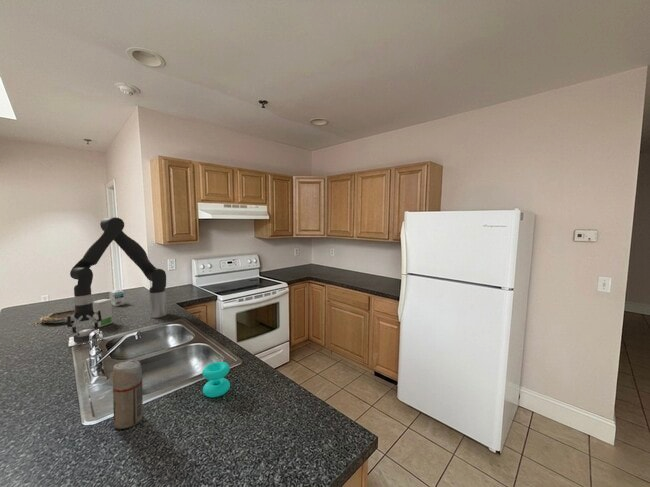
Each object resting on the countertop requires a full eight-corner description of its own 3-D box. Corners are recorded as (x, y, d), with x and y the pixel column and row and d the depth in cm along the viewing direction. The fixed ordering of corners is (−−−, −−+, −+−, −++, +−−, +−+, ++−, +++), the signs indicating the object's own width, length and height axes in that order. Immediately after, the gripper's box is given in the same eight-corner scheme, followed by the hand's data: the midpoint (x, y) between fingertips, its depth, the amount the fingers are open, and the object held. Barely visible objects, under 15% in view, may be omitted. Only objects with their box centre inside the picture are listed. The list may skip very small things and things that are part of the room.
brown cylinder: (124, 412, 95) (121, 357, 93) (149, 411, 95) (146, 357, 94) (107, 431, 86) (103, 371, 85) (134, 430, 87) (130, 370, 85)
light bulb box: (125, 304, 213) (124, 290, 212) (115, 306, 208) (114, 292, 207) (119, 302, 219) (118, 288, 218) (109, 304, 213) (108, 290, 212)
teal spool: (218, 357, 113) (235, 364, 108) (219, 380, 114) (235, 388, 109) (196, 368, 105) (212, 376, 99) (197, 393, 106) (213, 402, 100)
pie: (91, 310, 200) (90, 303, 199) (94, 321, 180) (93, 313, 180) (35, 320, 180) (35, 312, 180) (32, 333, 161) (31, 325, 160)
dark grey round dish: (101, 331, 162) (101, 325, 161) (103, 339, 151) (102, 333, 151) (69, 338, 152) (69, 332, 152) (68, 347, 142) (68, 340, 142)
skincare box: (100, 327, 168) (98, 302, 167) (91, 326, 169) (89, 302, 168) (113, 322, 176) (111, 299, 175) (104, 321, 177) (103, 298, 176)
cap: (92, 335, 156) (91, 327, 155) (92, 338, 152) (92, 330, 151) (79, 337, 152) (79, 330, 152) (79, 341, 148) (79, 333, 148)
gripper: (99, 298, 157) (101, 325, 159) (66, 303, 148) (68, 332, 149) (100, 301, 152) (102, 329, 153) (65, 307, 142) (67, 336, 144)
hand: (85, 331), depth 151 cm, fingers open, 8 cm apart
